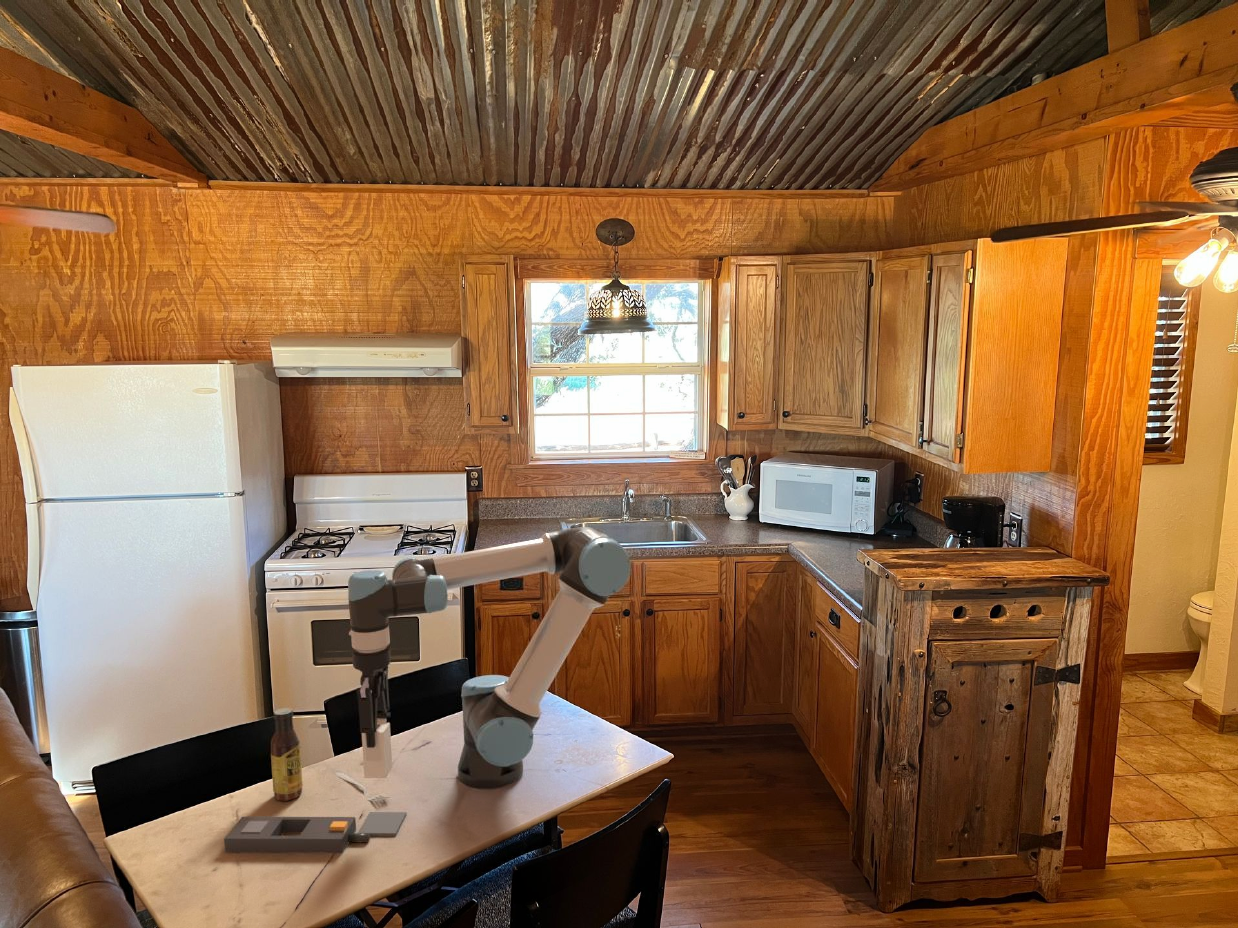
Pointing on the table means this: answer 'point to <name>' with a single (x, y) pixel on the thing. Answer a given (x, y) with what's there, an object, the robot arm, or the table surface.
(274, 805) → the table surface
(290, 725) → the sauce bottle
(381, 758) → the block
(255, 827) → the power strip
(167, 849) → the table surface
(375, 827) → the mat
